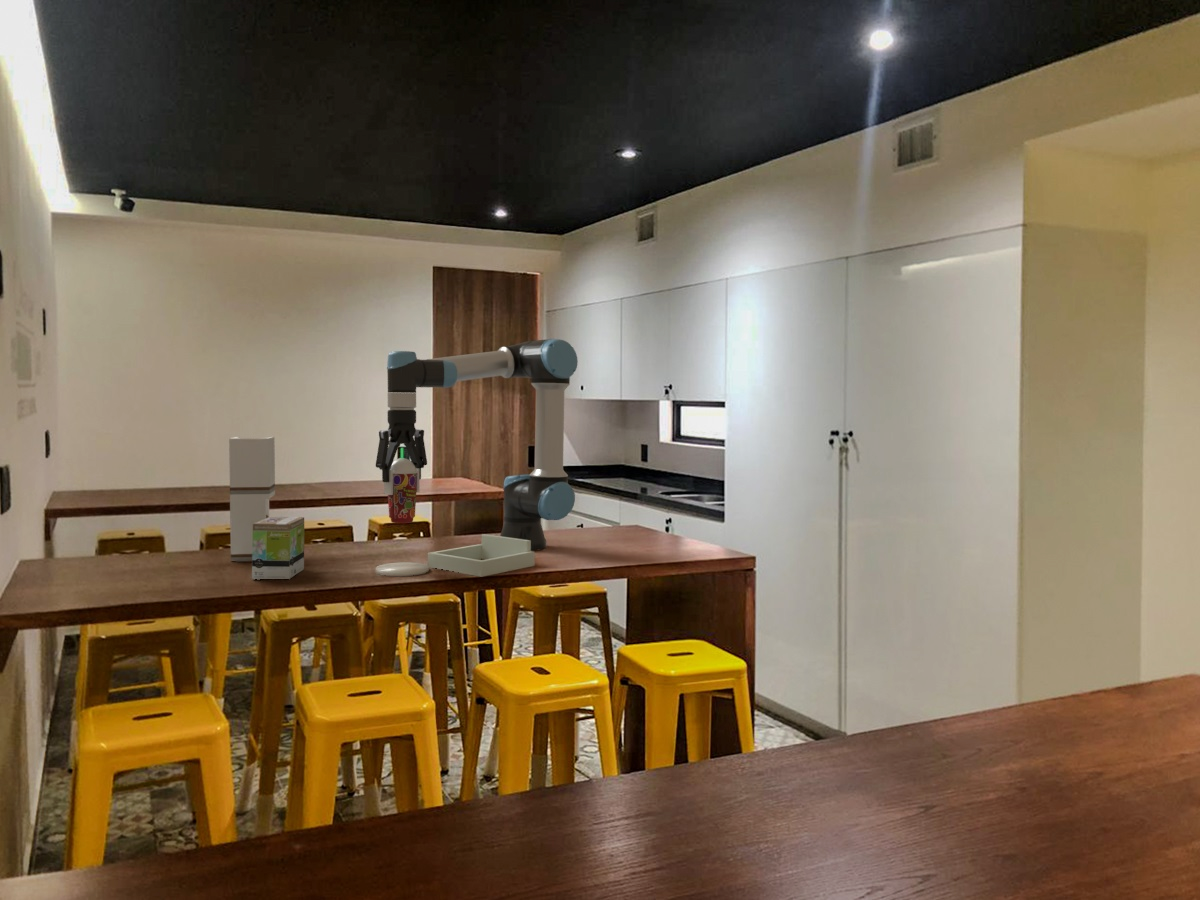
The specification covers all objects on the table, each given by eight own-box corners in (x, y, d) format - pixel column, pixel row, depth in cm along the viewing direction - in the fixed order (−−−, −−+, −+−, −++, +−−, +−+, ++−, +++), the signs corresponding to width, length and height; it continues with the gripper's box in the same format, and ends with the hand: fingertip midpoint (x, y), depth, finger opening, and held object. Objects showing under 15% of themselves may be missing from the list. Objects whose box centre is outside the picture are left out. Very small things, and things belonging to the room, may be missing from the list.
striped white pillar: (270, 560, 265) (268, 438, 263) (230, 561, 263) (229, 438, 261) (275, 553, 276) (274, 436, 274) (237, 554, 274) (236, 436, 272)
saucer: (405, 564, 260) (405, 560, 260) (439, 570, 252) (439, 566, 252) (365, 571, 249) (365, 567, 249) (399, 578, 241) (399, 573, 241)
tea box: (291, 580, 237) (290, 523, 237) (251, 580, 237) (250, 523, 236) (305, 569, 252) (304, 515, 252) (267, 569, 252) (266, 515, 251)
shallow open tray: (481, 557, 274) (481, 533, 273) (534, 565, 261) (534, 541, 260) (427, 567, 257) (427, 542, 257) (481, 576, 244) (481, 550, 244)
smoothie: (410, 524, 245) (410, 449, 244) (380, 523, 247) (380, 448, 245) (422, 520, 253) (422, 447, 252) (394, 519, 255) (394, 446, 254)
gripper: (422, 408, 259) (422, 489, 260) (360, 408, 242) (361, 495, 243) (441, 409, 254) (441, 491, 256) (379, 409, 237) (379, 497, 239)
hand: (402, 493), depth 249 cm, fingers closed on smoothie, 8 cm apart
